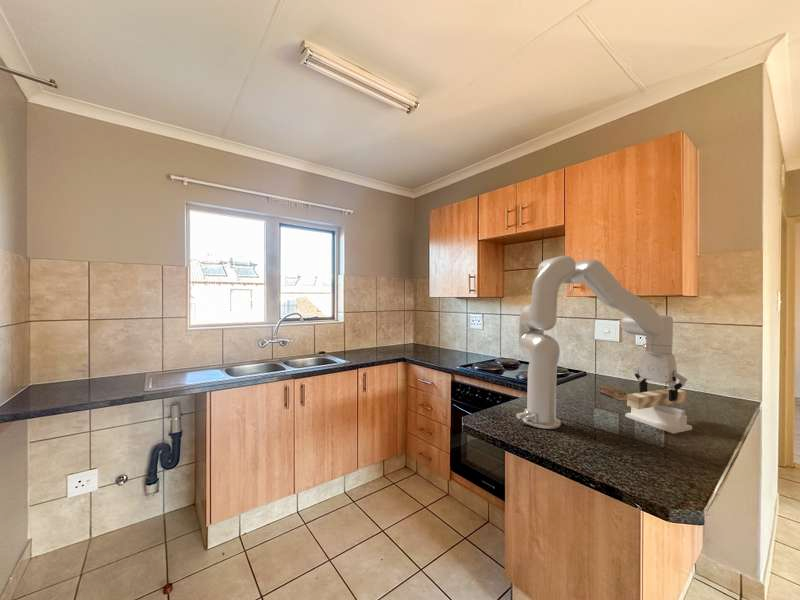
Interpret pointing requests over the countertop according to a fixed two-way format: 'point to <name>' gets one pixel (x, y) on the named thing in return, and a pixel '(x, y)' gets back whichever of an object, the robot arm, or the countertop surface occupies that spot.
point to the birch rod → (654, 398)
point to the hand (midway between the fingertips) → (657, 396)
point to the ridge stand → (662, 418)
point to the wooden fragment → (613, 393)
